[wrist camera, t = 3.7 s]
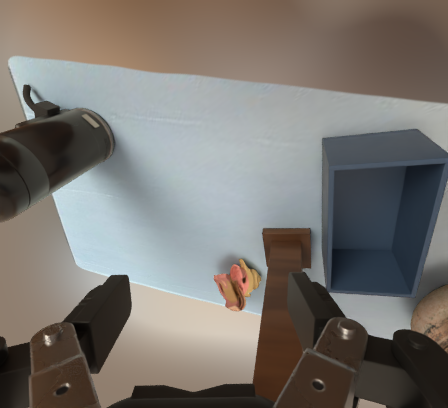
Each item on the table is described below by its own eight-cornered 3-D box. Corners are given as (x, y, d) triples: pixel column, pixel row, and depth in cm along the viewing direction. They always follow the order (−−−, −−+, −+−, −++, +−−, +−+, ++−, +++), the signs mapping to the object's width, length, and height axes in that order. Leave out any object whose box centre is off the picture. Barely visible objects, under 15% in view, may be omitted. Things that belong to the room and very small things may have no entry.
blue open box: (322, 138, 36) (328, 166, 28) (416, 128, 33) (454, 157, 25) (321, 248, 46) (326, 292, 38) (394, 250, 43) (415, 298, 35)
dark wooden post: (258, 216, 46) (196, 496, 18) (312, 216, 43) (338, 542, 15) (265, 261, 51) (224, 530, 23) (313, 262, 48) (333, 570, 20)
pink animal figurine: (264, 254, 51) (273, 306, 48) (243, 261, 60) (250, 305, 57) (220, 259, 47) (227, 315, 45) (204, 265, 56) (210, 312, 53)
